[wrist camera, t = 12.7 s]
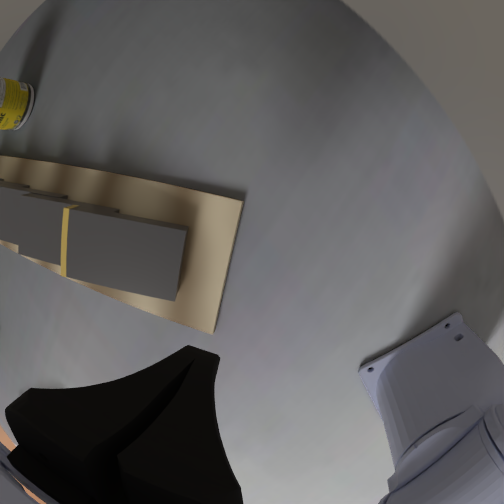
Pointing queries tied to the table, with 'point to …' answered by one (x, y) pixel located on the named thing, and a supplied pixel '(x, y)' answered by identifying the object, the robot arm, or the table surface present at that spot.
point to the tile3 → (15, 209)
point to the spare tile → (122, 251)
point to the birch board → (157, 208)
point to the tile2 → (44, 225)
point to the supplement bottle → (15, 103)
